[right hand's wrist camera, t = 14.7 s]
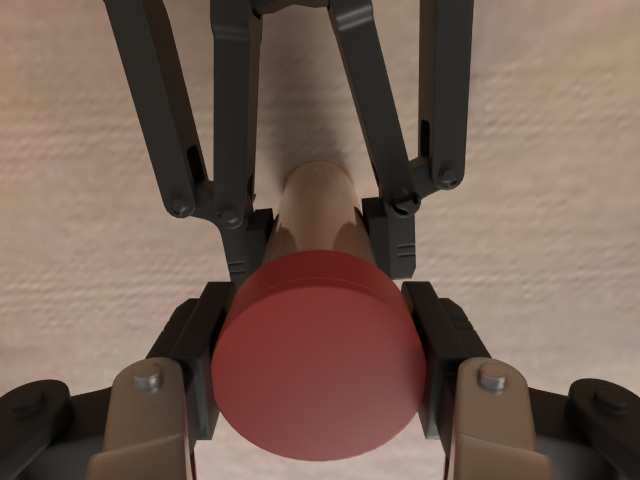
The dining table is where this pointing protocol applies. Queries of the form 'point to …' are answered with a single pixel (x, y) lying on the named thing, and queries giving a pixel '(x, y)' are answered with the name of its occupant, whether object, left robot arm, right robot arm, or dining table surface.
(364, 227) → the cylinder
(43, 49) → the dining table surface
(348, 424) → the lid
